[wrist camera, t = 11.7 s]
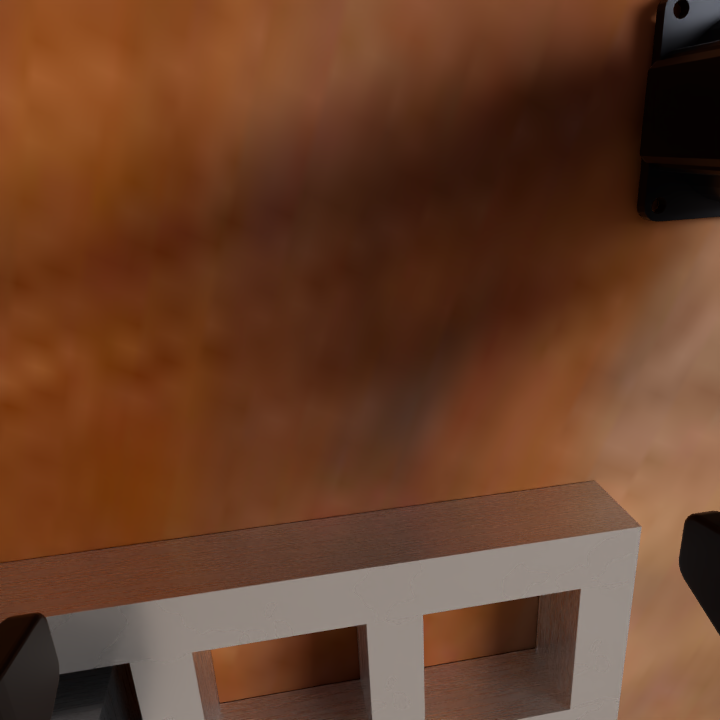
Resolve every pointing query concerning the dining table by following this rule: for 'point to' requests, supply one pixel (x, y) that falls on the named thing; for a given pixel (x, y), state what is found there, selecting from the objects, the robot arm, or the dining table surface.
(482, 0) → the dining table surface
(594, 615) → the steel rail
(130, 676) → the graphite block
